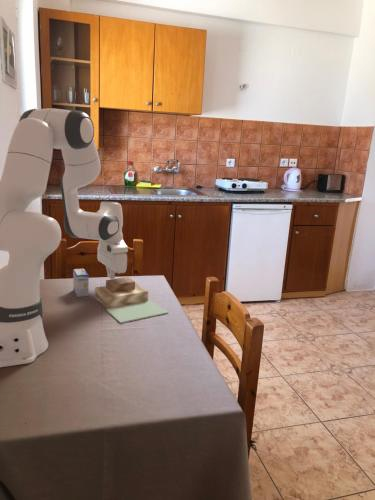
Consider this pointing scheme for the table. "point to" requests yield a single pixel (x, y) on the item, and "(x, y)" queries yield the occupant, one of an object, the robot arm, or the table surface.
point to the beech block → (121, 296)
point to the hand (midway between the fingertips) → (111, 277)
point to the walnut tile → (120, 284)
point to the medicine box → (80, 282)
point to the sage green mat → (136, 311)
